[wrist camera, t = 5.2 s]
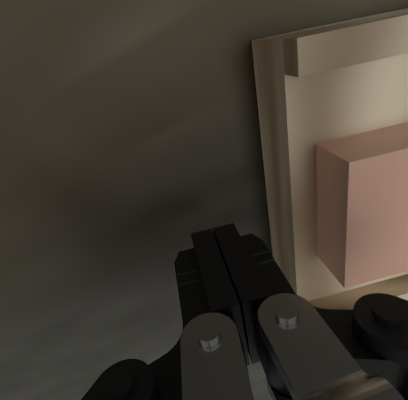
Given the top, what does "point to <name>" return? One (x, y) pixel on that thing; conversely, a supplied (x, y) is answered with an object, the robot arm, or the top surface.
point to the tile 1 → (363, 204)
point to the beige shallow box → (324, 132)
